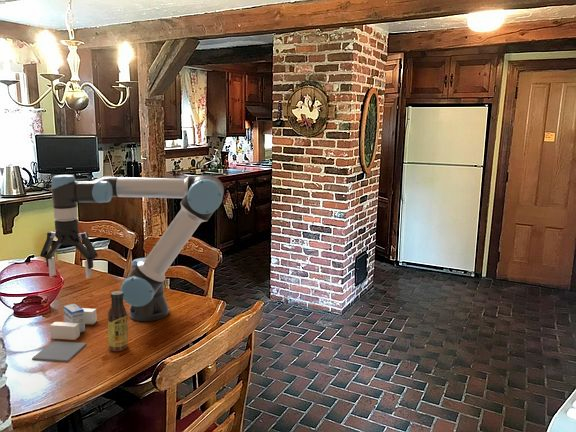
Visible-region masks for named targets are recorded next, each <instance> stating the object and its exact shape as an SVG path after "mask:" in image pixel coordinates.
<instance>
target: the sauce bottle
mask: <svg viewBox="0 0 576 432" xmlns="http://www.w3.org/2000/svg"><path fill="white" fill-rule="evenodd" d="M123 296H124V294H123V292H122V291H121V290H115V291H112V292H111V293H110V299H111V307H109V310H108V313H107V317H108V318H107V334H108V337H107V338H108V339H107V340H108V349H109V350H110V351H112V352H121V351H124V350H126V349H127V348H128V346H129V345H128V343H129V335H128V334H129V333H128V330H129V329H128V328H129V327H128V326H129V325H128V313H127V311H126V308H125V305H124V299H123Z"/></svg>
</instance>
